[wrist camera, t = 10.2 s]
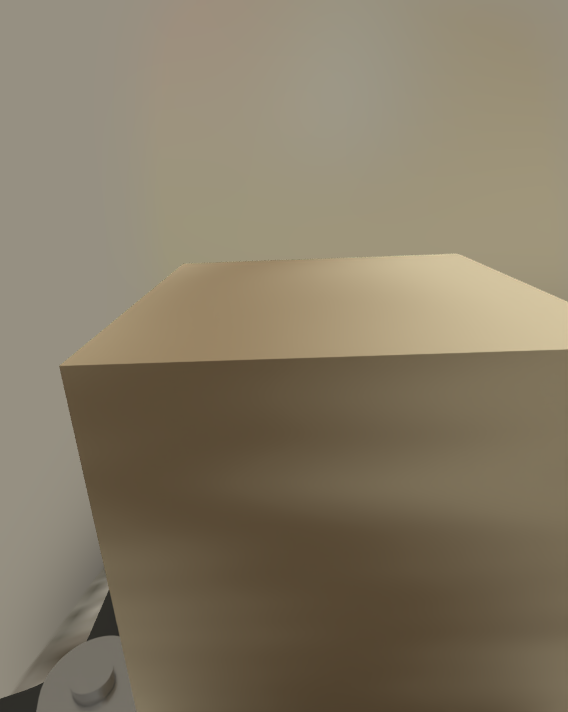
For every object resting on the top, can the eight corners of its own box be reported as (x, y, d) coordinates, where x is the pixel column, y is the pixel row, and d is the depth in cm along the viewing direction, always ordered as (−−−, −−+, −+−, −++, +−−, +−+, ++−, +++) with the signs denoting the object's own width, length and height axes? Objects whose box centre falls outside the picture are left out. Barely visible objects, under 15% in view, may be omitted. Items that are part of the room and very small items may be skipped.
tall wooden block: (413, 731, 12) (458, 253, 8) (482, 1036, 8) (667, 346, 3) (236, 735, 12) (183, 263, 8) (209, 1036, 8) (58, 365, 4)
